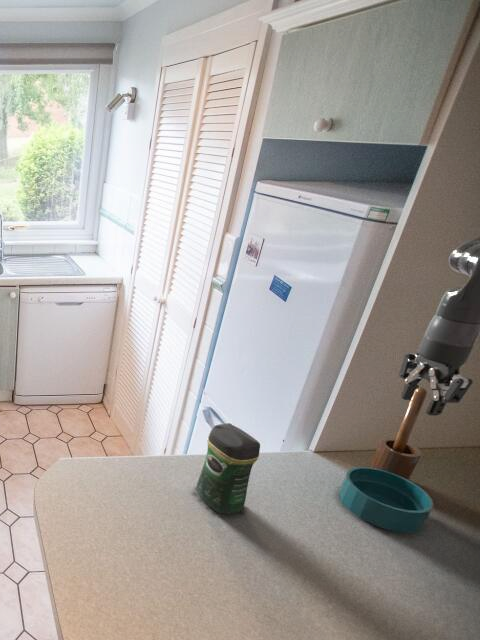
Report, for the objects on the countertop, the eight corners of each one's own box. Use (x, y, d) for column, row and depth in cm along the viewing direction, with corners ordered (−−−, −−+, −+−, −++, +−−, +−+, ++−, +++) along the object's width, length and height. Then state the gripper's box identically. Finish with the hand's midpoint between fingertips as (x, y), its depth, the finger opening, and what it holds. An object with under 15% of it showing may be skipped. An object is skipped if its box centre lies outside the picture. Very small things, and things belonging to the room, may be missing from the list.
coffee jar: (249, 512, 100) (271, 442, 92) (219, 519, 98) (239, 448, 90) (217, 483, 108) (234, 417, 101) (188, 489, 106) (204, 422, 99)
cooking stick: (388, 472, 110) (423, 386, 101) (395, 478, 108) (431, 390, 99) (380, 472, 110) (413, 386, 101) (386, 477, 108) (421, 390, 99)
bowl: (386, 488, 106) (396, 467, 104) (440, 536, 93) (453, 514, 91) (323, 486, 107) (331, 465, 105) (368, 533, 94) (378, 511, 92)
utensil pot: (390, 468, 113) (404, 438, 109) (414, 488, 106) (430, 457, 102) (360, 467, 113) (372, 437, 109) (382, 487, 106) (396, 456, 103)
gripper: (503, 352, 88) (466, 425, 95) (438, 325, 101) (409, 391, 108) (463, 352, 89) (429, 424, 95) (402, 325, 102) (376, 390, 108)
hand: (418, 406), depth 102 cm, fingers open, 6 cm apart
